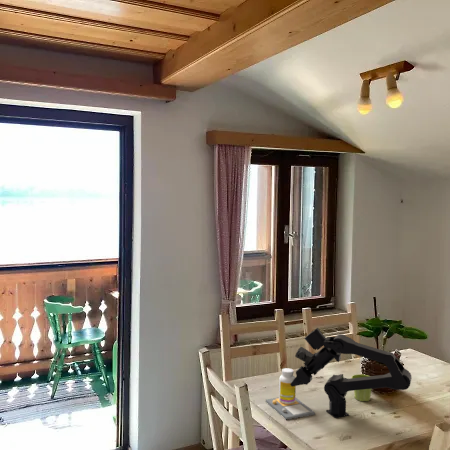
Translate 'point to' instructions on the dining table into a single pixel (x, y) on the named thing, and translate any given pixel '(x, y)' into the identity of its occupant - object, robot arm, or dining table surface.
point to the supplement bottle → (286, 387)
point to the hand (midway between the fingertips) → (294, 381)
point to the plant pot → (362, 394)
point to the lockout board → (290, 408)
